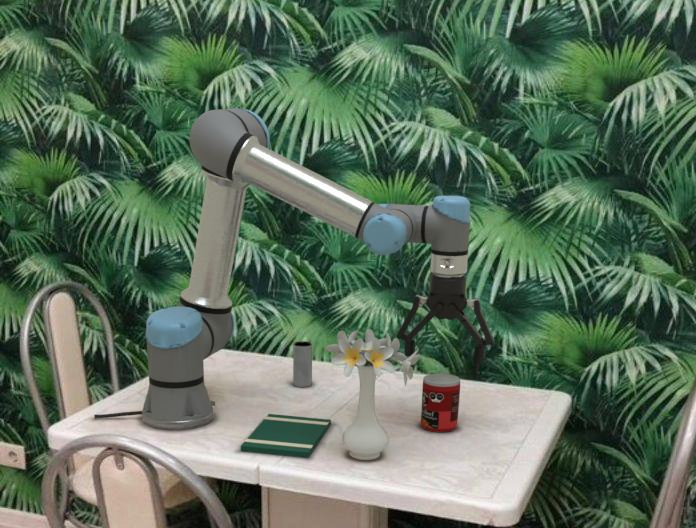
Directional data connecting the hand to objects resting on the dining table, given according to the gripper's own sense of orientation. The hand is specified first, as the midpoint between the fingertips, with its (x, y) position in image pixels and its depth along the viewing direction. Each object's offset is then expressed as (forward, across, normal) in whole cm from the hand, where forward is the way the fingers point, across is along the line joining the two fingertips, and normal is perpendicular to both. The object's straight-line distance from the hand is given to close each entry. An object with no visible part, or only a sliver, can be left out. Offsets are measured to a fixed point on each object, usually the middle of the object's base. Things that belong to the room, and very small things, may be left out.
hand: (443, 373), depth 203 cm
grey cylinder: (+12, -36, +21) cm, 44 cm away
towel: (+12, -30, -15) cm, 36 cm away
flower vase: (+12, -12, -20) cm, 26 cm away
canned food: (+12, 0, 0) cm, 12 cm away
